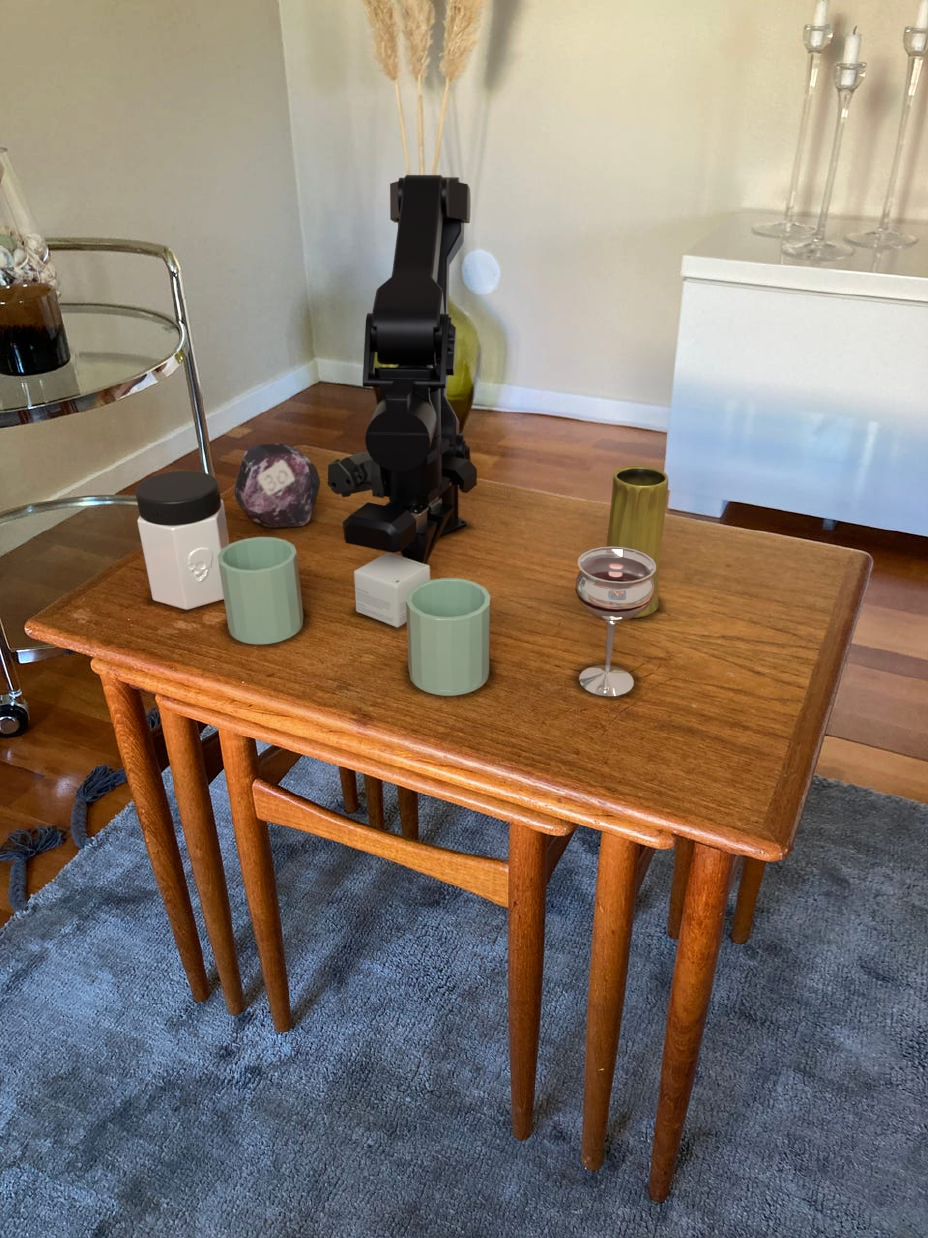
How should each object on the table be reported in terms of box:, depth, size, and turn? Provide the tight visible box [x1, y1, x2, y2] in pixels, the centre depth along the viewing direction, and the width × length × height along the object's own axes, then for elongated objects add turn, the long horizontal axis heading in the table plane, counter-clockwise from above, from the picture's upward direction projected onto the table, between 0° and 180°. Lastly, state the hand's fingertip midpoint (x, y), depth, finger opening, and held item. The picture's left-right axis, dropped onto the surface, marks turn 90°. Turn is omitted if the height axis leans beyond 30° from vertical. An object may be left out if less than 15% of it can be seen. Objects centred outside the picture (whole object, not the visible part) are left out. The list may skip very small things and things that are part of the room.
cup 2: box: [406, 577, 492, 697], centre depth 87 cm, size 7×7×8 cm
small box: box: [353, 552, 431, 629], centre depth 98 cm, size 6×6×5 cm
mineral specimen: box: [233, 443, 321, 529], centre depth 115 cm, size 10×10×10 cm
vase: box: [606, 465, 669, 619], centre depth 96 cm, size 6×6×14 cm
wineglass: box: [574, 546, 656, 697], centre depth 85 cm, size 7×7×12 cm
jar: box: [134, 470, 230, 611], centre depth 99 cm, size 9×8×12 cm
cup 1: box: [217, 536, 304, 645], centre depth 94 cm, size 7×7×8 cm
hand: (416, 573), depth 102 cm, fingers closed
